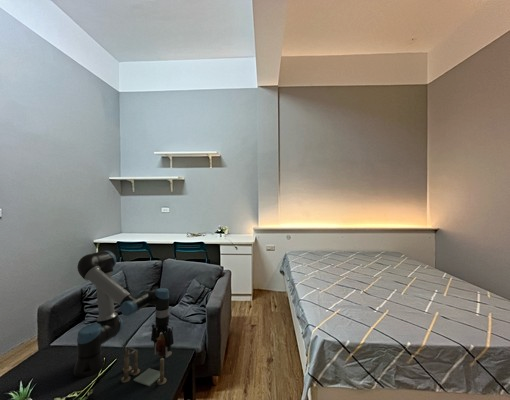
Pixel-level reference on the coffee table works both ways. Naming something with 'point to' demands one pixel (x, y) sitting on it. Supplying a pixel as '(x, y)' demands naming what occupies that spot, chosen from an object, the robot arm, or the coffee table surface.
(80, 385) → the coffee table surface
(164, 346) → the mug
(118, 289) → the robot arm
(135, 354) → the light wood frame
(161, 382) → the gate post right
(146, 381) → the pad
